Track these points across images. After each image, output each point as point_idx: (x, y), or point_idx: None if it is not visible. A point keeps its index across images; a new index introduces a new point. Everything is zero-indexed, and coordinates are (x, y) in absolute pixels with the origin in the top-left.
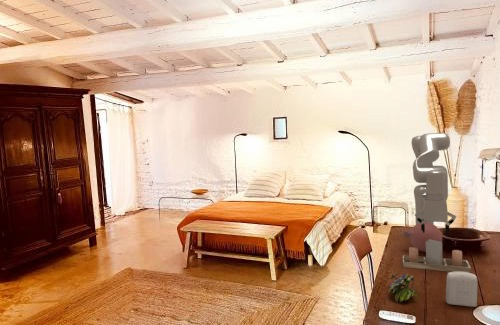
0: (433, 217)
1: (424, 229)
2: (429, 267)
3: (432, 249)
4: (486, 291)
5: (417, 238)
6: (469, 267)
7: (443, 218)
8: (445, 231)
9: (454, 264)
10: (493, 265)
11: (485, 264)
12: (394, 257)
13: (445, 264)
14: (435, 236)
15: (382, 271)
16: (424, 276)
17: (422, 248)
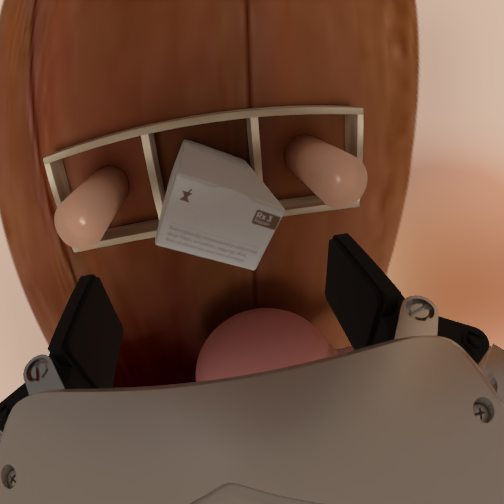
0: (296, 471)
1: (348, 257)
2: (230, 111)
3: (223, 172)
4: (20, 3)
5: (307, 338)
6: (47, 161)
7: (39, 455)
8: (110, 318)
9: (109, 175)
10: (22, 277)
11: (40, 277)
12: (374, 218)
13: (148, 146)
14: (222, 370)
15: (415, 47)
16: (250, 16)
17: (271, 308)
